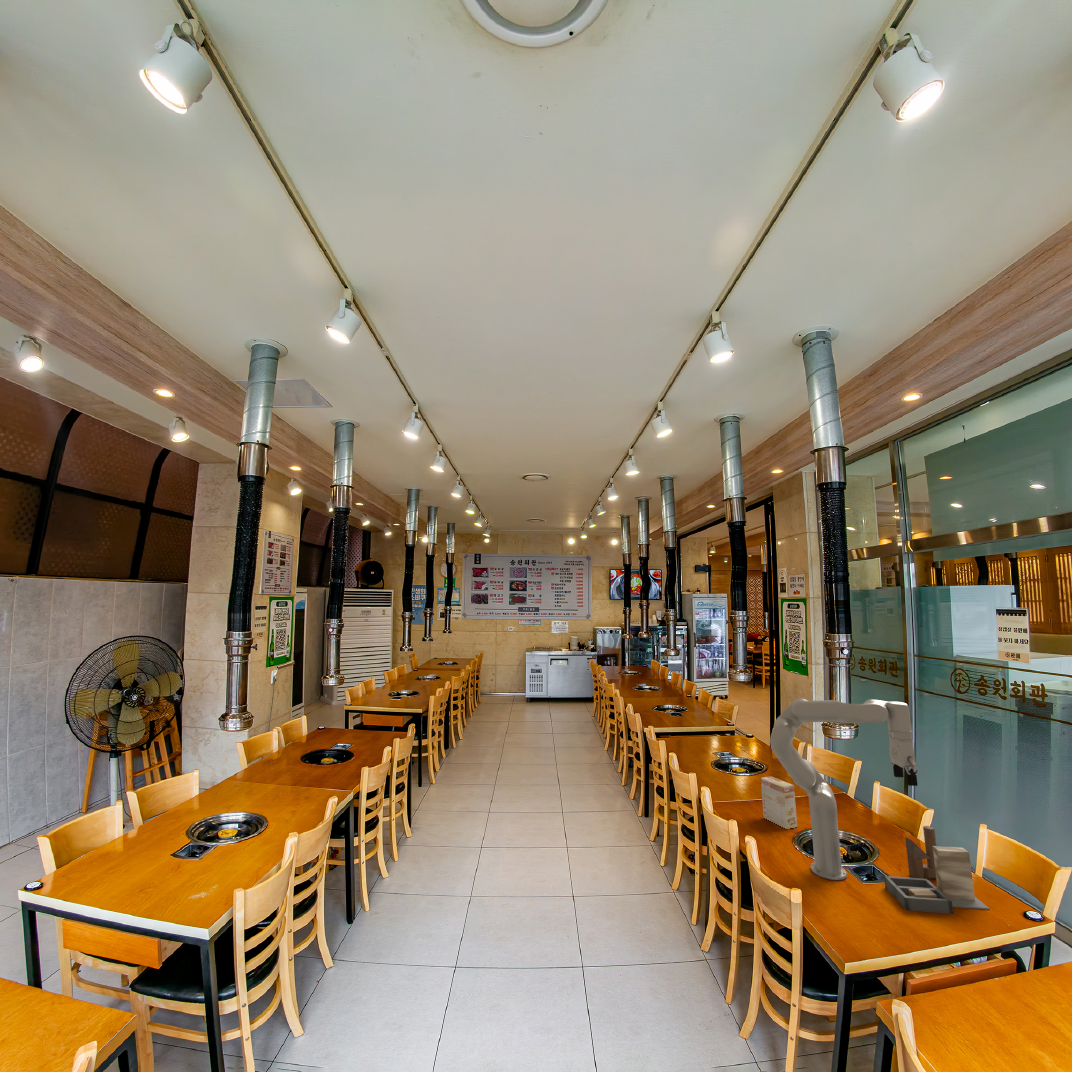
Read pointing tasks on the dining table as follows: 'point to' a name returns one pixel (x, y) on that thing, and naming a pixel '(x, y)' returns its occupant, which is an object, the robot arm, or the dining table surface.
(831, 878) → the robot arm
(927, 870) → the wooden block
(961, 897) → the plywood sheet
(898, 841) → the dining table surface
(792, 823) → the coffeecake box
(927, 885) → the tray
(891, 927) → the dining table surface
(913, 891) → the offcut upper
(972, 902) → the mat
